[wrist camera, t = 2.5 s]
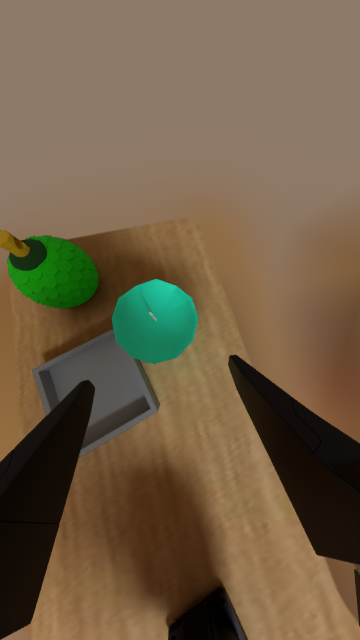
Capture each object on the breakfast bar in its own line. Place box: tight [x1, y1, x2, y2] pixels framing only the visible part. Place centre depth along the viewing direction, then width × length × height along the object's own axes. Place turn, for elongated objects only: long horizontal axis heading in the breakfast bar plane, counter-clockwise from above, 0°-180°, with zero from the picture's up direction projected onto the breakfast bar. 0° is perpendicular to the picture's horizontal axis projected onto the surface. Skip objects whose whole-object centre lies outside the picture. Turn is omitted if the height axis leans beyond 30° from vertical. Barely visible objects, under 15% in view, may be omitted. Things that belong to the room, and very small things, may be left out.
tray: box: [32, 329, 160, 458], centre depth 18 cm, size 11×11×2 cm
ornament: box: [0, 230, 99, 308], centre depth 16 cm, size 8×8×10 cm
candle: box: [112, 279, 198, 364], centre depth 14 cm, size 6×6×12 cm
